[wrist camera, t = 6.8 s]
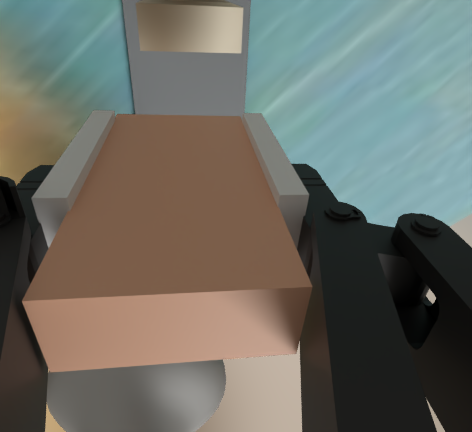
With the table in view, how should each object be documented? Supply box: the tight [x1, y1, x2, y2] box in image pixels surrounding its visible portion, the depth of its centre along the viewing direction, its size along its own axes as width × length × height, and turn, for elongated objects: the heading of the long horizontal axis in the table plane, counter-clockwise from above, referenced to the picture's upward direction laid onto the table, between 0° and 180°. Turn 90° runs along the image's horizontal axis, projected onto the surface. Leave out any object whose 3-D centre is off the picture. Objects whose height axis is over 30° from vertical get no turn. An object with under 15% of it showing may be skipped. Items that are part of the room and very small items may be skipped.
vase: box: [47, 359, 226, 432], centre depth 30 cm, size 14×14×25 cm
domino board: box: [122, 0, 251, 119], centre depth 25 cm, size 9×32×1 cm, turn 177°
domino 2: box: [22, 114, 312, 372], centre depth 11 cm, size 5×2×10 cm, turn 86°
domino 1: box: [136, 0, 243, 53], centre depth 21 cm, size 5×2×10 cm, turn 87°
